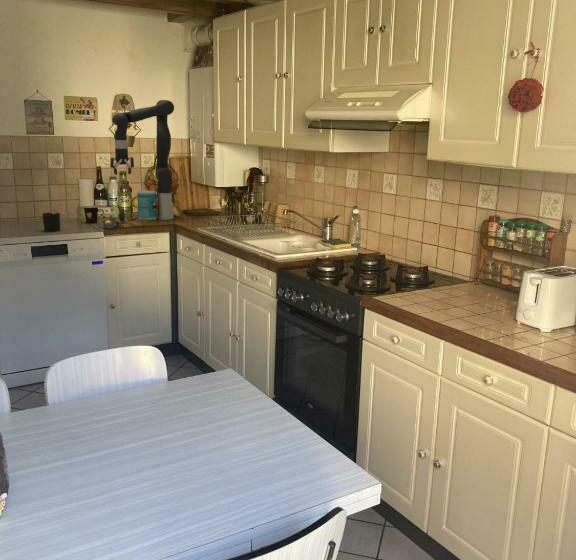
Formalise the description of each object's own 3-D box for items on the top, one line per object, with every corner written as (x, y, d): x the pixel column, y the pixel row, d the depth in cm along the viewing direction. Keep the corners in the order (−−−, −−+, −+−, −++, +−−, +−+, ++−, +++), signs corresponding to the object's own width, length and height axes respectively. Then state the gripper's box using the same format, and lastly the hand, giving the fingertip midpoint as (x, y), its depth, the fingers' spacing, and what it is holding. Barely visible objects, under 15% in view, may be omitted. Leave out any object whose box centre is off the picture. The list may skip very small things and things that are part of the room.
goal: (108, 225, 380) (108, 220, 379) (114, 227, 372) (114, 222, 371) (97, 226, 376) (97, 221, 376) (103, 228, 368) (103, 223, 368)
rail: (138, 223, 390) (138, 220, 389) (143, 225, 384) (143, 222, 383) (116, 225, 382) (116, 222, 382) (121, 226, 376) (121, 224, 375)
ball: (106, 218, 375) (102, 223, 375) (108, 219, 372) (104, 224, 372) (111, 222, 378) (107, 227, 377) (113, 223, 375) (109, 228, 374)
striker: (125, 224, 384) (124, 208, 381) (128, 225, 379) (128, 209, 377) (111, 225, 379) (110, 209, 376) (114, 226, 374) (113, 210, 372)
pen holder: (55, 228, 367) (54, 211, 364) (64, 230, 361) (62, 213, 359) (40, 230, 360) (39, 213, 357) (49, 232, 354) (47, 215, 352)
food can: (136, 218, 409) (135, 190, 405) (154, 217, 414) (153, 190, 410) (140, 221, 399) (139, 192, 394) (159, 219, 404) (158, 192, 400)
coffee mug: (81, 223, 388) (80, 207, 385) (91, 221, 395) (90, 205, 392) (95, 224, 382) (94, 208, 380) (105, 222, 390) (104, 206, 387)
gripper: (130, 147, 386) (131, 173, 390) (107, 147, 378) (109, 174, 382) (134, 147, 380) (136, 174, 384) (112, 148, 372) (113, 175, 376)
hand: (122, 174), depth 383 cm, fingers open, 8 cm apart
